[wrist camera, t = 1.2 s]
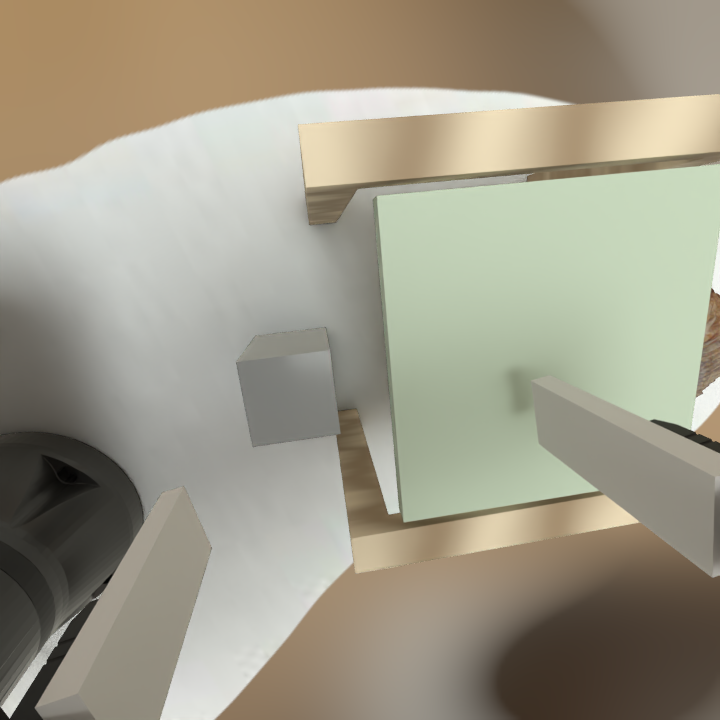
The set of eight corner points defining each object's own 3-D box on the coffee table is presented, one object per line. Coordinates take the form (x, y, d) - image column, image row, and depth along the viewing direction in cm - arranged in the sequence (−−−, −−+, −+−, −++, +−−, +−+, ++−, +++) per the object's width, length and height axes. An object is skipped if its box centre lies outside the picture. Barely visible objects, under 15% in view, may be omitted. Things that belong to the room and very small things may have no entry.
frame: (336, 433, 33) (356, 583, 18) (305, 195, 28) (297, 118, 12) (544, 402, 34) (727, 515, 19) (551, 174, 29) (807, 82, 14)
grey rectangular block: (267, 400, 31) (252, 446, 24) (255, 335, 30) (236, 362, 22) (333, 391, 32) (340, 434, 24) (325, 327, 30) (330, 350, 23)
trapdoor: (389, 479, 21) (403, 522, 17) (364, 208, 17) (376, 195, 14) (626, 442, 22) (683, 476, 19) (651, 181, 18) (729, 163, 15)
